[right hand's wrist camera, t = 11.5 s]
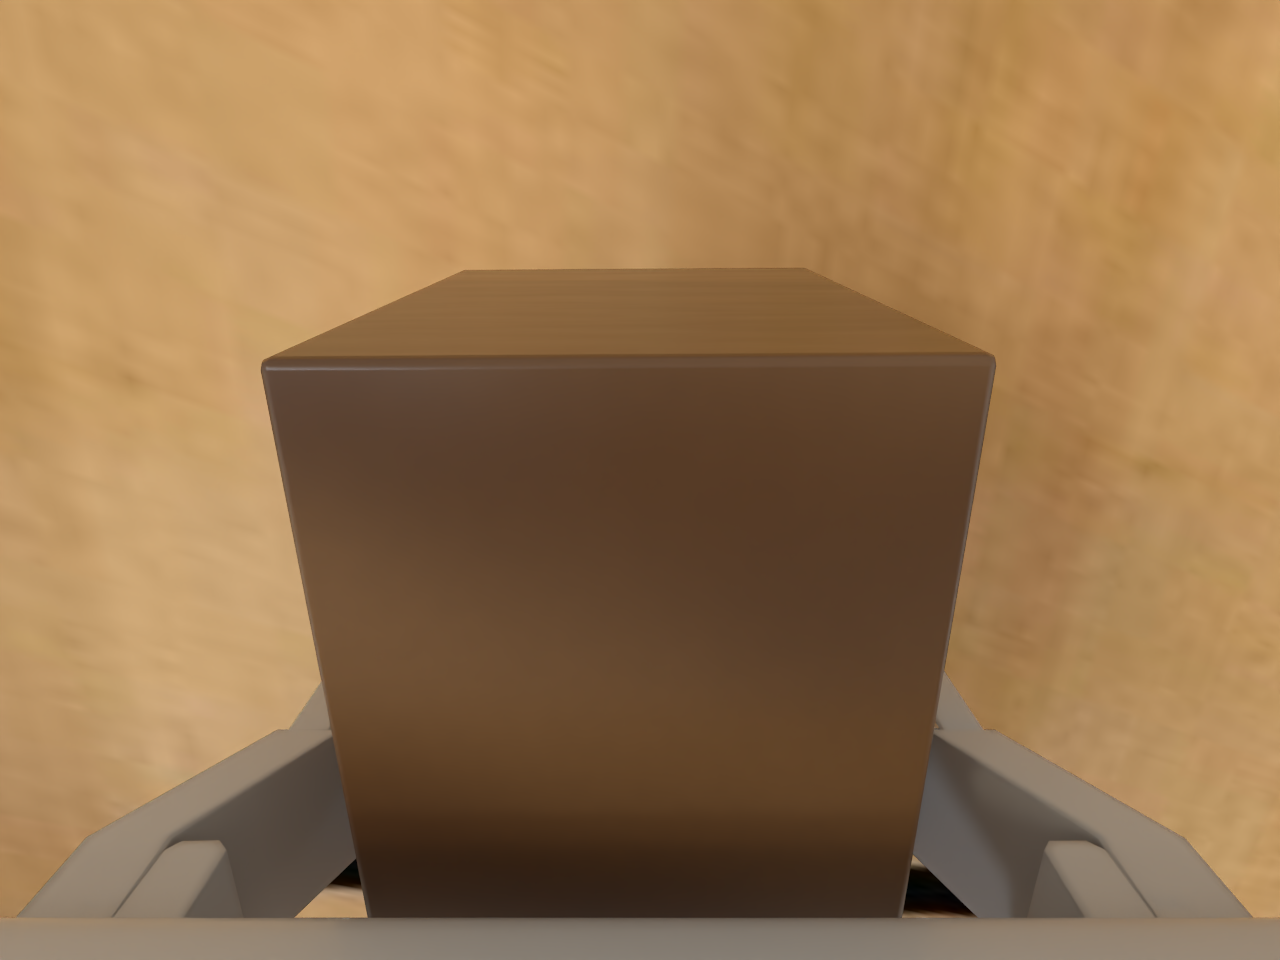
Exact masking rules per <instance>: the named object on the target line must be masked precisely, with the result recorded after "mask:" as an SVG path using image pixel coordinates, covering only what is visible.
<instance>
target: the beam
mask: <svg viewBox="0 0 1280 960" xmlns="http://www.w3.org/2000/svg"><path fill="white" fill-rule="evenodd" d="M995 369H996V362H995V357H994V355H992V354H990V353H987V352H985V351H983V350H981V349H979V348H977V347H974V346H972V345H970V344H968V343H966V342H964V341H961V340H959V339H957V338H955V337H953V336H951V335H948V334H946V333H944V332H942V331H940V330H938V329H935V328H933V327H931V326H929V325H927V324H925V323H922V322H920V321H918V320H916V319H914V318H912V317H909V316H907V315H905V314H903V313H901V312H899V311H896V310H894V309H892V308H890V307H888V306H886V305H883V304H881V303H879V302H877V301H875V300H873V299H870V298H868V297H866V296H864V295H862V294H860V293H858V292H855V291H853V290H851V289H849V288H847V287H845V286H842V285H840V284H838V283H836V282H834V281H832V280H829V279H827V278H825V277H823V276H821V275H819V274H816V273H814V272H812V271H810V270H808V269H805V268H713V269H562V270H464V271H461V272H459V273H457V274H455V275H452V276H450V277H448V278H446V279H444V280H441V281H439V282H437V283H435V284H432V285H430V286H428V287H426V288H423V289H421V290H419V291H417V292H414V293H412V294H410V295H408V296H405V297H403V298H401V299H399V300H397V301H394V302H392V303H390V304H388V305H385V306H383V307H381V308H379V309H376V310H374V311H372V312H370V313H367V314H365V315H363V316H361V317H358V318H356V319H354V320H352V321H350V322H347V323H345V324H343V325H341V326H338V327H336V328H334V329H332V330H329V331H327V332H325V333H323V334H320V335H318V336H316V337H314V338H311V339H309V340H307V341H305V342H303V343H300V344H298V345H296V346H294V347H291V348H289V349H287V350H285V351H282V352H280V353H278V354H276V355H273V356H271V357H269V358H267V359H265V360H263V362H262V366H261V374H262V379H263V384H264V389H265V394H266V399H267V404H268V409H269V414H270V420H271V425H272V430H273V435H274V440H275V445H276V450H277V455H278V461H279V466H280V471H281V476H282V481H283V486H284V491H285V496H286V501H287V507H288V512H289V517H290V522H291V527H292V532H293V537H294V542H295V547H296V553H297V558H298V563H299V568H300V573H301V578H302V583H303V588H304V593H305V599H306V604H307V609H308V614H309V619H310V624H311V629H312V634H313V640H314V645H315V650H316V655H317V660H318V665H319V670H320V675H321V680H322V686H323V691H324V696H325V701H326V706H327V711H328V716H329V721H330V726H331V732H332V737H333V742H334V747H335V752H336V757H337V762H338V767H339V772H340V778H341V783H342V788H343V793H344V798H345V803H346V808H347V813H348V818H349V824H350V829H351V834H352V839H353V844H354V849H355V854H356V859H357V865H358V870H359V875H360V880H361V885H362V890H363V895H364V900H365V905H366V911H367V916H368V918H902V914H903V908H904V902H905V896H906V890H907V884H908V879H909V873H910V867H911V861H912V855H913V849H914V843H915V838H916V832H917V826H918V820H919V814H920V808H921V802H922V797H923V791H924V785H925V779H926V773H927V767H928V761H929V756H930V750H931V744H932V738H933V732H934V726H935V721H936V715H937V709H938V703H939V697H940V691H941V685H942V680H943V674H944V668H945V662H946V656H947V650H948V644H949V639H950V633H951V627H952V621H953V615H954V609H955V603H956V598H957V592H958V586H959V580H960V574H961V568H962V562H963V557H964V551H965V545H966V539H967V533H968V527H969V521H970V516H971V510H972V504H973V498H974V492H975V486H976V480H977V475H978V469H979V463H980V457H981V451H982V445H983V439H984V434H985V428H986V422H987V416H988V410H989V404H990V398H991V393H992V387H993V381H994V375H995Z"/></svg>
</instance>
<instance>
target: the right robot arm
mask: <svg viewBox="0 0 1280 960" xmlns="http://www.w3.org/2000/svg"><path fill="white" fill-rule="evenodd" d="M913 855H914V856H915V857H916V858H917V859H918V860H919V861H920V862H921V863H922V864H923V865H924V866H926V867H927V868H928V869H929V870H930V871H931V872H932V873H933V874H934V875H935V876H936V877H937V878H938V879H939V880H940V881H941V882H942V883H943V884H944V885H945V886H946V887H947V888H948V889H949V890H950V891H951V892H952V893H953V894H954V895H955V896H956V897H957V898H958V899H959V900H961V901H962V902H963V903H964V904H965V905H966V906H967V907H968V908H969V909H970V910H971V911H972V912H973V913H974V914H975V915H976V916H977V917H978V918H294V917H295V916H296V915H297V914H298V913H299V912H300V911H301V910H302V909H304V908H305V907H306V906H307V905H308V904H309V903H310V902H311V901H312V900H313V899H314V898H315V897H316V896H317V895H318V894H319V893H320V892H321V891H322V890H323V889H324V888H325V887H326V886H328V885H329V884H330V883H331V882H332V881H333V880H334V879H335V878H336V877H337V876H338V875H339V874H340V873H341V872H342V871H343V870H344V869H345V868H346V867H347V866H348V865H349V864H350V863H352V862H353V861H354V860H355V859H356V854H355V849H354V844H353V839H352V834H351V829H350V824H349V818H348V813H347V808H346V803H345V798H344V793H343V788H342V783H341V778H340V772H339V767H338V762H337V757H336V752H335V747H334V742H333V737H332V732H331V726H330V721H329V716H328V711H327V706H326V701H325V696H324V691H323V686H322V681H321V682H320V684H319V685H318V687H317V688H316V690H315V691H314V693H313V694H312V696H311V697H310V699H309V700H308V702H307V703H306V705H305V706H304V708H303V709H302V711H301V712H300V713H299V715H298V716H297V718H296V719H295V721H294V722H293V724H292V725H291V727H290V728H289V730H276V731H274V732H272V733H271V734H269V735H267V736H265V737H264V738H262V739H260V740H258V741H256V742H255V743H253V744H251V745H249V746H248V747H246V748H244V749H242V750H240V751H239V752H237V753H235V754H233V755H232V756H230V757H228V758H226V759H224V760H223V761H221V762H219V763H217V764H216V765H214V766H212V767H210V768H209V769H207V770H205V771H203V772H201V773H200V774H198V775H196V776H194V777H193V778H191V779H189V780H187V781H185V782H184V783H182V784H180V785H178V786H177V787H175V788H173V789H171V790H169V791H168V792H166V793H164V794H162V795H161V796H159V797H157V798H155V799H154V800H152V801H150V802H148V803H146V804H145V805H143V806H141V807H139V808H138V809H136V810H134V811H132V812H130V813H129V814H127V815H125V816H123V817H122V818H120V819H118V820H116V821H114V822H113V823H111V824H109V825H107V826H106V827H104V828H102V829H100V830H99V831H97V832H95V833H93V834H91V835H90V836H88V837H86V838H85V840H84V841H83V842H82V843H81V844H80V845H79V846H78V847H77V849H76V850H75V851H74V852H73V853H72V854H71V855H70V857H69V858H68V859H67V860H66V861H65V862H64V863H63V865H62V866H61V867H60V868H59V869H58V870H57V871H56V872H55V874H54V875H53V876H52V877H51V878H50V879H49V880H48V882H47V883H46V884H45V885H44V886H43V887H42V888H41V889H40V891H39V892H38V893H37V894H36V895H35V896H34V897H33V899H32V900H31V901H30V902H29V903H28V904H27V905H26V907H25V908H24V909H23V910H22V911H21V912H20V913H19V914H18V916H17V917H16V918H0V960H1280V918H1253V917H1252V916H1251V914H1250V913H1249V912H1248V911H1247V910H1246V909H1245V907H1244V906H1243V905H1242V904H1241V903H1240V902H1239V901H1238V899H1237V898H1236V897H1235V896H1234V895H1233V894H1232V892H1231V891H1230V890H1229V889H1228V888H1227V887H1226V885H1225V884H1224V883H1223V882H1222V881H1221V880H1220V878H1219V877H1218V876H1217V875H1216V874H1215V873H1214V871H1213V870H1212V869H1211V868H1210V867H1209V866H1208V864H1207V863H1206V862H1205V861H1204V860H1203V859H1202V857H1201V856H1200V855H1199V854H1198V853H1197V852H1196V850H1195V849H1194V848H1193V847H1192V846H1191V845H1190V843H1189V842H1188V841H1187V840H1186V839H1185V838H1183V837H1182V836H1180V835H1178V834H1176V833H1175V832H1173V831H1171V830H1169V829H1168V828H1166V827H1164V826H1162V825H1161V824H1159V823H1157V822H1155V821H1154V820H1152V819H1150V818H1148V817H1147V816H1145V815H1143V814H1141V813H1140V812H1138V811H1136V810H1134V809H1133V808H1131V807H1129V806H1127V805H1126V804H1124V803H1122V802H1120V801H1119V800H1117V799H1115V798H1113V797H1112V796H1110V795H1108V794H1106V793H1105V792H1103V791H1101V790H1099V789H1098V788H1096V787H1094V786H1092V785H1091V784H1089V783H1087V782H1085V781H1084V780H1082V779H1080V778H1078V777H1077V776H1075V775H1073V774H1071V773H1070V772H1068V771H1066V770H1064V769H1063V768H1061V767H1059V766H1057V765H1056V764H1054V763H1052V762H1050V761H1049V760H1047V759H1045V758H1043V757H1042V756H1040V755H1038V754H1036V753H1035V752H1033V751H1031V750H1029V749H1028V748H1026V747H1024V746H1022V745H1021V744H1019V743H1017V742H1015V741H1014V740H1012V739H1010V738H1008V737H1007V736H1005V735H1003V734H1001V733H1000V732H998V731H996V730H983V728H982V727H981V725H980V724H979V722H978V721H977V719H976V718H975V716H974V715H973V713H972V712H971V710H970V709H969V707H968V706H967V704H966V703H965V701H964V700H963V698H962V697H961V695H960V694H959V692H958V691H957V689H956V688H955V686H954V685H953V683H952V682H951V680H950V679H949V677H948V676H947V674H946V673H945V671H944V674H943V680H942V685H941V691H940V697H939V703H938V709H937V715H936V721H935V726H934V732H933V738H932V744H931V750H930V756H929V761H928V767H927V773H926V779H925V785H924V791H923V797H922V802H921V808H920V814H919V820H918V826H917V832H916V838H915V843H914V849H913Z"/></svg>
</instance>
